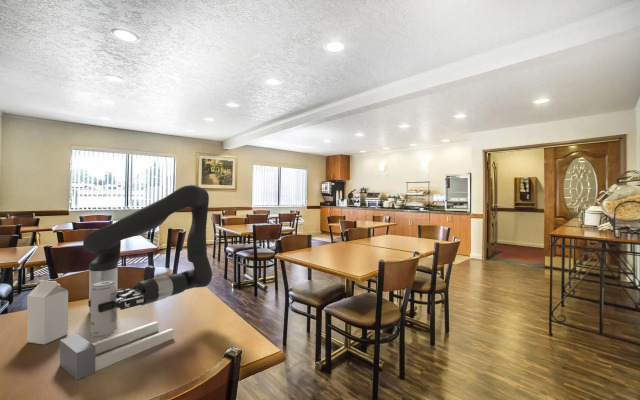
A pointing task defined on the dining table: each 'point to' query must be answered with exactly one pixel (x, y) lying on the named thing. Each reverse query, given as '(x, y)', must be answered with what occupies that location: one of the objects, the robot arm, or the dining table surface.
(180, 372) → the dining table surface
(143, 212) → the robot arm
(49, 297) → the milk carton
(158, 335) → the stop channel
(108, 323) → the energy drink can
